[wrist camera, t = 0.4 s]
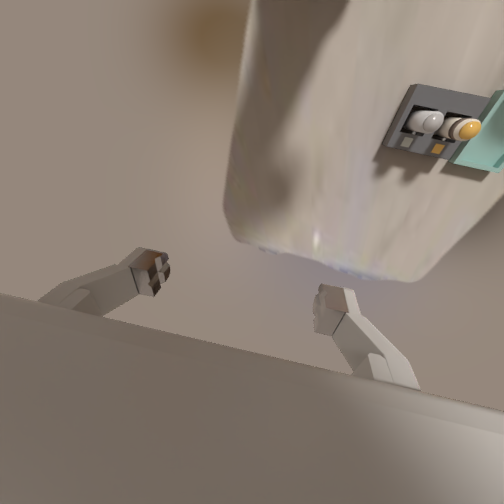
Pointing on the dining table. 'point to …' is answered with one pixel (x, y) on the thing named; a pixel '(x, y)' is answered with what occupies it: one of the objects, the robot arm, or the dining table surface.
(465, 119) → the cylinder
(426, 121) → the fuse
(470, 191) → the dining table surface
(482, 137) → the parts tray
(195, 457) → the robot arm
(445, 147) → the fuse block
